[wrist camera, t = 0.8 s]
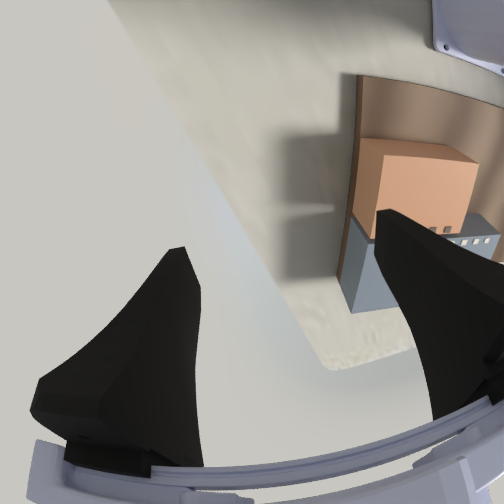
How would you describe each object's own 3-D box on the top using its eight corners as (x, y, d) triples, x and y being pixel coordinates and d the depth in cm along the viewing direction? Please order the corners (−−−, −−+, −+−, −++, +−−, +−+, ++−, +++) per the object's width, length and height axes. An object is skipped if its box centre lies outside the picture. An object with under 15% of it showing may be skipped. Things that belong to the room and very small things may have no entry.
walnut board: (558, 133, 16) (563, 136, 16) (520, 253, 27) (524, 257, 26) (357, 74, 16) (363, 76, 15) (336, 276, 26) (339, 284, 25)
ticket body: (479, 213, 21) (501, 235, 19) (458, 269, 25) (475, 292, 23) (351, 217, 21) (368, 245, 18) (339, 284, 25) (351, 314, 22)
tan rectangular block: (450, 146, 18) (480, 164, 15) (436, 209, 21) (460, 233, 18) (360, 137, 17) (384, 155, 15) (352, 211, 21) (370, 239, 18)
